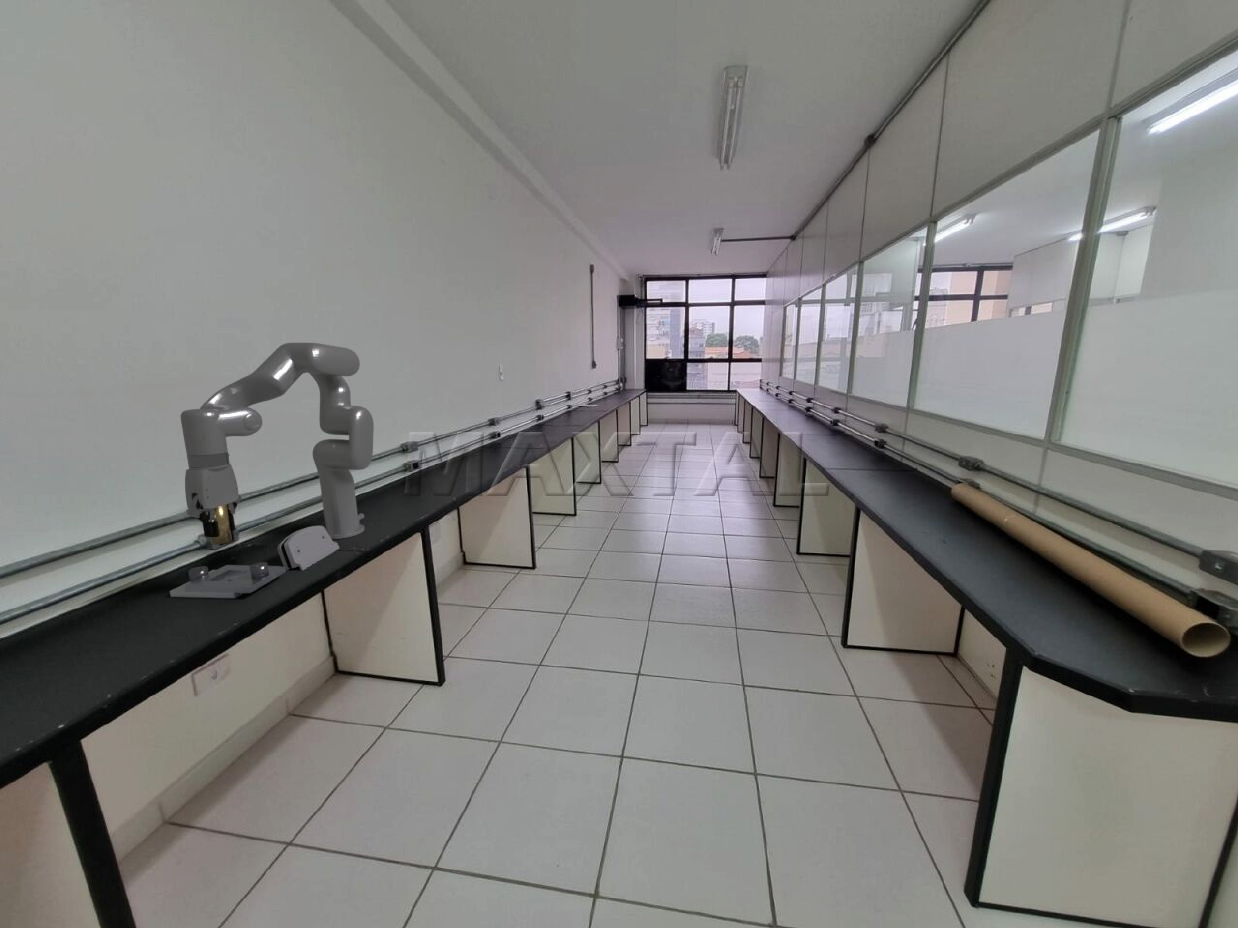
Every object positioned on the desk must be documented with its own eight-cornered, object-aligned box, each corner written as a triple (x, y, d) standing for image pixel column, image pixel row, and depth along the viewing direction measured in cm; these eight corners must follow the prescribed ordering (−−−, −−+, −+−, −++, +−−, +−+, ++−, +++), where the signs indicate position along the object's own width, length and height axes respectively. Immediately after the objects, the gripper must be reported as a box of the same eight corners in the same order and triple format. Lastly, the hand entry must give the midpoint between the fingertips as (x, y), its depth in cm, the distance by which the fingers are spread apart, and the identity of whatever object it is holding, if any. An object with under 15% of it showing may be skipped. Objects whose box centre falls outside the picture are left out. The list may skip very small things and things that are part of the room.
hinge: (302, 570, 130) (285, 538, 128) (287, 575, 131) (270, 543, 129) (340, 547, 146) (326, 518, 145) (327, 551, 147) (312, 522, 145)
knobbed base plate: (213, 575, 127) (210, 554, 126) (286, 576, 126) (283, 555, 125) (170, 596, 115) (166, 573, 114) (251, 598, 115) (247, 575, 113)
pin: (220, 538, 120) (214, 500, 118) (236, 538, 120) (230, 500, 118) (206, 544, 116) (200, 504, 114) (222, 544, 116) (216, 505, 114)
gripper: (223, 454, 122) (233, 522, 126) (159, 467, 106) (173, 545, 109) (251, 455, 122) (261, 523, 125) (192, 468, 105) (205, 546, 109)
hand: (220, 532), depth 117 cm, fingers closed on pin, 4 cm apart
